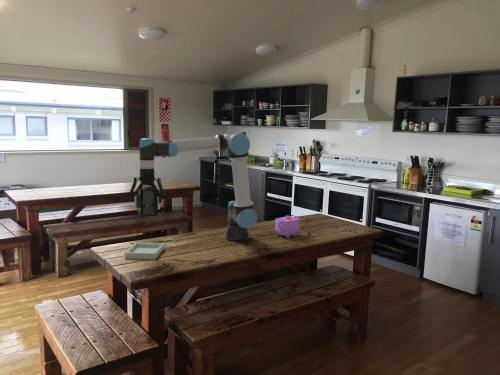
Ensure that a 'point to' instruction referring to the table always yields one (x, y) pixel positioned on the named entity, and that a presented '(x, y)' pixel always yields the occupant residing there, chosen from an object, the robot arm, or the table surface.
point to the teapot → (287, 226)
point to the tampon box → (147, 201)
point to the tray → (144, 250)
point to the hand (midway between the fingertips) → (147, 208)
